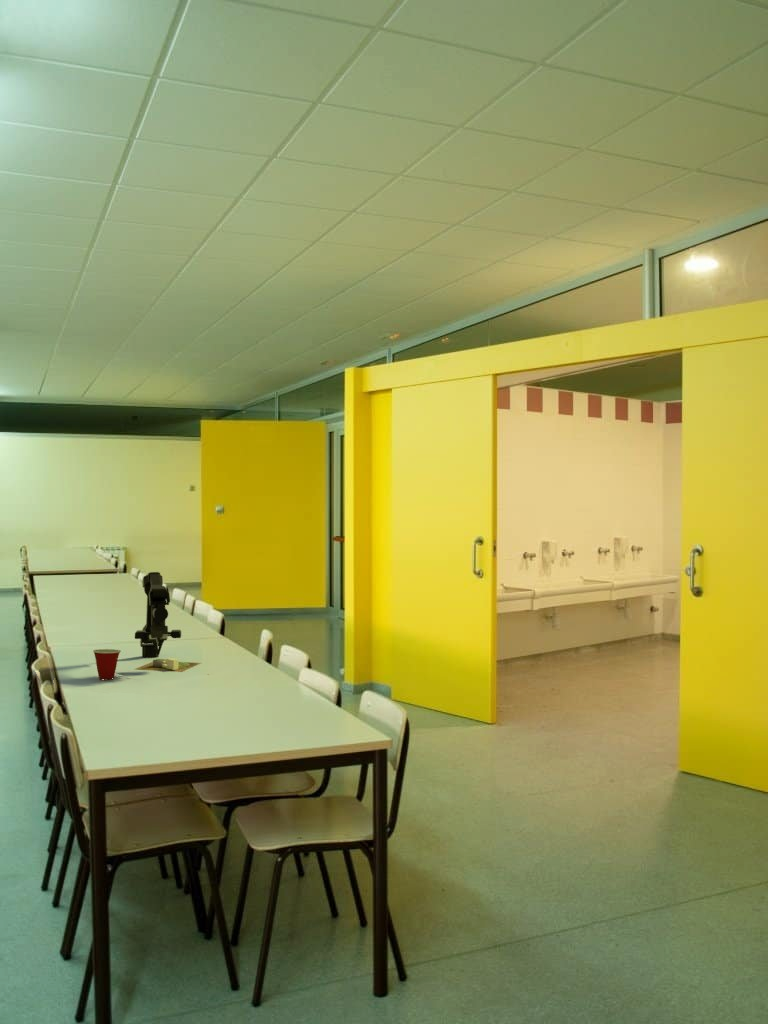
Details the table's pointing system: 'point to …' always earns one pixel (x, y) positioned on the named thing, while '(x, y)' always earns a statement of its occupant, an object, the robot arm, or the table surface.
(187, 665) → the brown flat wooden board
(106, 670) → the plastic cup
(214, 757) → the table surface
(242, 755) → the table surface
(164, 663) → the peg lever
